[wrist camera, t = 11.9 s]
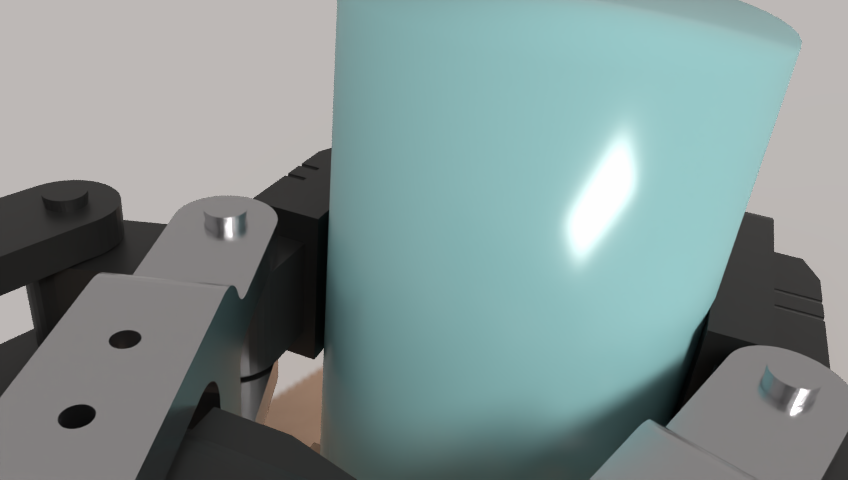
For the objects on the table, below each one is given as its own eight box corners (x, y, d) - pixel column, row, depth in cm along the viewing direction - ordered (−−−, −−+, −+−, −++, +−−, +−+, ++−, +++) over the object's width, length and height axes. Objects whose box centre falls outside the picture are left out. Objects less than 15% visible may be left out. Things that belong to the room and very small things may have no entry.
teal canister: (617, 539, 15) (794, -2, 10) (562, 802, 11) (813, 114, 6) (385, 453, 16) (433, -62, 11) (257, 661, 12) (245, -1, 7)
